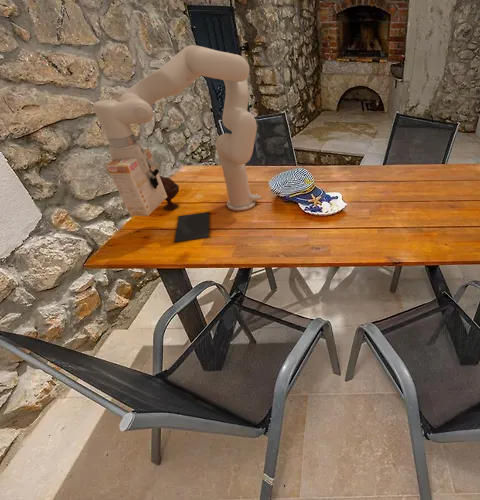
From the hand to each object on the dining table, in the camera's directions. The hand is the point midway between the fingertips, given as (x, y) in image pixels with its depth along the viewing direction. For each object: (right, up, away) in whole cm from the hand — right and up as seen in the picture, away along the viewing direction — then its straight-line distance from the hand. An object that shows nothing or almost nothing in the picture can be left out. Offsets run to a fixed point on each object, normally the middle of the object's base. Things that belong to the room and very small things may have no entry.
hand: (142, 188), depth 116 cm
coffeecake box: (0, -6, +5) cm, 8 cm away
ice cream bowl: (-4, -3, +27) cm, 27 cm away
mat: (+12, -13, +14) cm, 22 cm away
